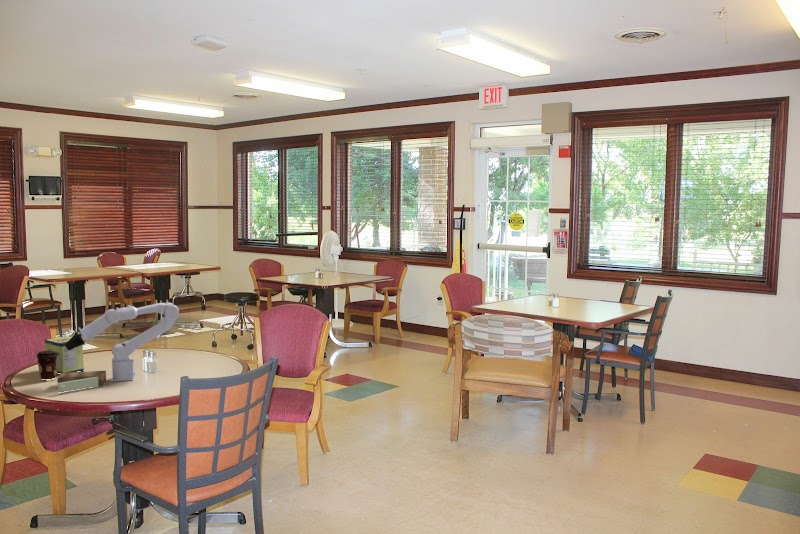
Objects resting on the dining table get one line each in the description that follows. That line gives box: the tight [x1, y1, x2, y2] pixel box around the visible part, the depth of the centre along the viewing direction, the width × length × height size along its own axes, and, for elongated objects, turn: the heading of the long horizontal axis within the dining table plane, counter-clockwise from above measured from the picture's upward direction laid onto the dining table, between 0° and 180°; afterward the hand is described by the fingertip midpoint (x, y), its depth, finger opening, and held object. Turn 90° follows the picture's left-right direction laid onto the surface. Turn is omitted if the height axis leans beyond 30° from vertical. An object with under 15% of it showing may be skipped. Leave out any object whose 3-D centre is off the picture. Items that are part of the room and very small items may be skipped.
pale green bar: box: [57, 376, 99, 393], centre depth 288 cm, size 16×2×4 cm, turn 135°
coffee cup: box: [36, 350, 58, 380], centre depth 306 cm, size 9×8×13 cm
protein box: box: [44, 335, 85, 374], centre depth 321 cm, size 10×16×16 cm
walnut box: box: [56, 370, 107, 387], centre depth 297 cm, size 18×9×5 cm, turn 105°
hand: (66, 347), depth 295 cm, fingers open, 7 cm apart
